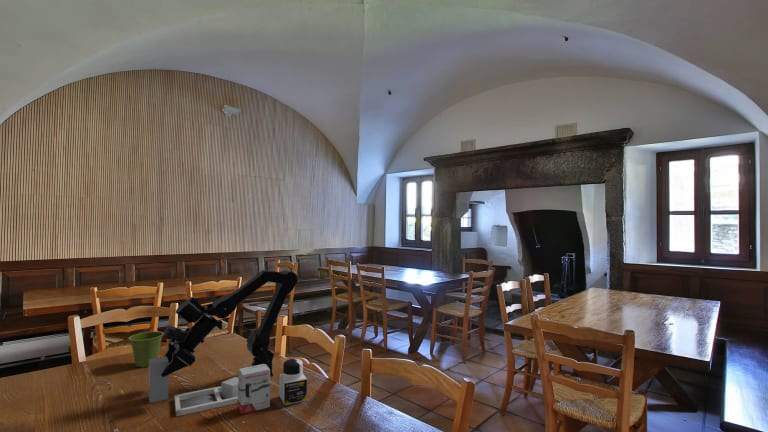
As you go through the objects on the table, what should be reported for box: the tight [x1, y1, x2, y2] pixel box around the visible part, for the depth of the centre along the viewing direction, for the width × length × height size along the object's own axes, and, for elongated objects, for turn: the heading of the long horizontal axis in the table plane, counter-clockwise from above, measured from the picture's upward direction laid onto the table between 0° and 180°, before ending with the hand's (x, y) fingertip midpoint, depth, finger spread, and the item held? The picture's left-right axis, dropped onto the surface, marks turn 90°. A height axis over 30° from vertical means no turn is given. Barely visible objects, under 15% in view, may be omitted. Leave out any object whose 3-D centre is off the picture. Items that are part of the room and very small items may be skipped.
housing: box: [174, 386, 238, 418], centre depth 124 cm, size 22×12×2 cm, turn 120°
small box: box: [220, 376, 238, 399], centre depth 127 cm, size 6×6×5 cm
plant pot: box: [128, 330, 164, 368], centre depth 153 cm, size 12×12×11 cm
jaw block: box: [148, 356, 169, 404], centre depth 125 cm, size 5×5×12 cm
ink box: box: [237, 364, 271, 415], centre depth 119 cm, size 8×5×12 cm, turn 123°
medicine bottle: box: [278, 358, 308, 406], centre depth 125 cm, size 7×7×12 cm
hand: (160, 371), depth 125 cm, fingers open, 9 cm apart
